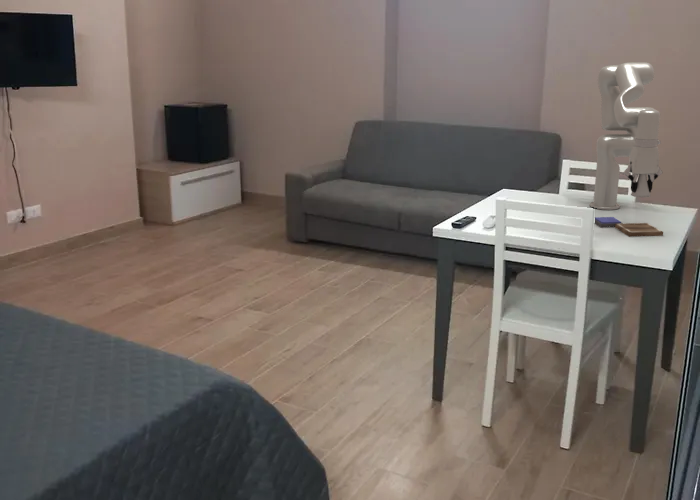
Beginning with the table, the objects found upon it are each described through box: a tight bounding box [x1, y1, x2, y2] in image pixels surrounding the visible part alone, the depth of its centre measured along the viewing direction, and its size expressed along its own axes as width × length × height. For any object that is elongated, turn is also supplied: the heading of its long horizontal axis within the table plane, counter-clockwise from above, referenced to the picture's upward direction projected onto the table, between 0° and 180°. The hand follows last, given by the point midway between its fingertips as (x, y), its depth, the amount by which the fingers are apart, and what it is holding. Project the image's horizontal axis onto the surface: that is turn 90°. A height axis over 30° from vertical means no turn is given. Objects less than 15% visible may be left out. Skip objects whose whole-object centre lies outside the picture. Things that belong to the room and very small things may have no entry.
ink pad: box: [594, 216, 623, 229], centre depth 284 cm, size 9×9×2 cm
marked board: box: [614, 222, 664, 238], centre depth 274 cm, size 13×13×2 cm
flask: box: [630, 174, 651, 198], centre depth 269 cm, size 7×7×10 cm
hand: (641, 191), depth 270 cm, fingers closed on flask, 4 cm apart
